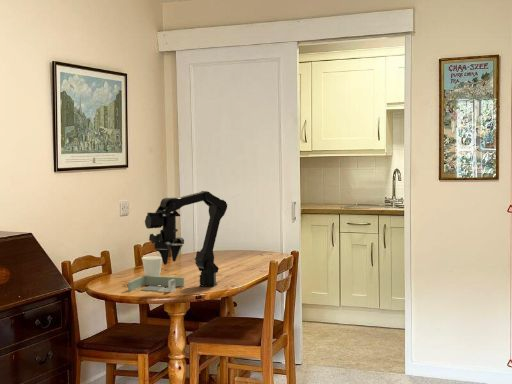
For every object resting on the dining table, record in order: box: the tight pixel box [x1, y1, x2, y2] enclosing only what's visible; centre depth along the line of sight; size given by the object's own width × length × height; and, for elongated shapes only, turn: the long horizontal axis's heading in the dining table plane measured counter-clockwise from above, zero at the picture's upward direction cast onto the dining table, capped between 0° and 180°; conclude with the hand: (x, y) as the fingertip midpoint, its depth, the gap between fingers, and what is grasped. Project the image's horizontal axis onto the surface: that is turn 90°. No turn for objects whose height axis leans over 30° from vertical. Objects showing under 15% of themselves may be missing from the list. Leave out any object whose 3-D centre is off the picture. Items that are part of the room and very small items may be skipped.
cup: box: [141, 255, 163, 276], centre depth 316 cm, size 10×10×11 cm
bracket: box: [157, 279, 176, 294], centre depth 292 cm, size 6×5×5 cm
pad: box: [140, 285, 168, 292], centre depth 298 cm, size 8×11×1 cm
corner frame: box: [127, 275, 185, 292], centre depth 298 cm, size 20×16×4 cm
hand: (169, 262), depth 293 cm, fingers open, 9 cm apart
